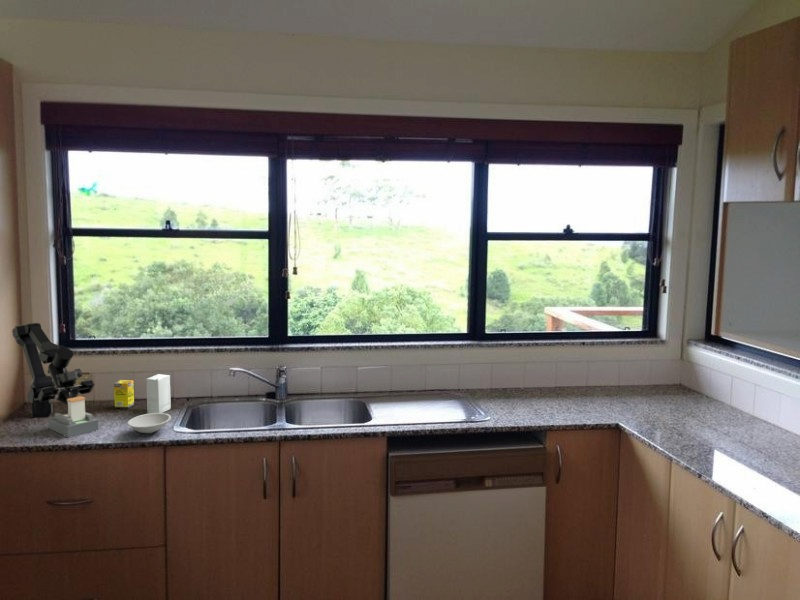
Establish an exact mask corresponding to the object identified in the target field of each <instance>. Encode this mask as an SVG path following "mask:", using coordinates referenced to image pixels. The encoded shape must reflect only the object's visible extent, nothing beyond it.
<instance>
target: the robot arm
mask: <svg viewBox="0 0 800 600" xmlns="http://www.w3.org/2000/svg"><path fill="white" fill-rule="evenodd" d="M11 332H12V333H13V334H12V336H13V338H14V340H15V343H16V344H18V345H19V346H20V347H22V350H23V352H24V353H23V354H24V357H25V360H26V363H27V366H28V369H29V372H30V376H31V383H30V385H29V391H28V393H27V396H26V397H27V401H28V402H29V403H31V412H32V413H31V416H30V418H45V417H48V418H49V417H50V416H51V415H52V414H53V413H54V405H53V402H52V400H55V398H56V401H59V402H61V403H63V404H65V405H67V406H68V401H67V399H69V398H74V397H78V395H79V394H80V395H86V394H90V393H91V392H92V390H93V388H95V381H94V380H93V379H87V380H82V381H80V383H79V384H78V385H75V384H76V383H77V381H76V380H79V378H82V377H83V372H82V370H81V368H75V369H74V370H72V371H68V370H67V367H68V366H69V365H70V363H71V361H72V359H73V356H74V351H72V350H71V349H70V348H68V347H65V345H58V344H56V343H53V342H51V339H50V338H49V337H48V335H46V333H45V332H44V330H43V329H42V325H41V323H39V322H31V323H26V324H19V325H15V326H14V327H13V328H12V331H11ZM43 364H44V365H45V364H49V365H48V367H47V369H48V370H47V373H48V374H50V375H47V374H46V373H45V369H44V367H43Z"/></svg>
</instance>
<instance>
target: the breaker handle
mask: <svg viewBox="0 0 800 600" xmlns="http://www.w3.org/2000/svg"><path fill="white" fill-rule="evenodd" d="M67 401H68V405H67V414H68V417H69V418H71V419H73V422H75V421H80V420H84V419H85V412H86V403H85V401H86V397H84V396H82V395H80V396H77V397H74V398H69V399H67Z"/></svg>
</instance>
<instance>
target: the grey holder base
mask: <svg viewBox="0 0 800 600" xmlns="http://www.w3.org/2000/svg"><path fill="white" fill-rule="evenodd" d="M48 428H50V429H49V430H51V429H52V430H51V431H53V430H54V431H53V432H55V431H56V432H55V433H57V432H58V434H59V433H60V435H61V434H63V435H62V436H64V435H65V436H64V437H66V436H67V437H66V438H68V437H69V438H72V437H71V436H73V437H76V436H75V435H77V436H80V435H79V434H82V435H84V434H83V433H86V434H89V433H88V432H90V433H93V432H92V431H94V432H97V431H96V430H98V431H99V420H98V419H97V418H94V417H93V414H91V413H90V412H88V411H87V412H86V411H85V419H84V420H80V421H75V422H73V419H71V418H69V417H68V413H66V414H62V413H60V412H55V413H54V417H48Z"/></svg>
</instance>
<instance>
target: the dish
mask: <svg viewBox="0 0 800 600" xmlns="http://www.w3.org/2000/svg"><path fill="white" fill-rule="evenodd" d="M171 419H172V417H171V415H170V414H168V413H165V412H163V413H145V414H140V415H137V416H134V417H132V418H130V419H129V420H128V421H127V426H129V427H130V428H131V429H133V430H134V431H135V432H138V433H143V434H152V433H154V432H157V431H159V430H161V429H163V428H164V427H165V426H166V425H167V424H168V422H169V421H170V420H171Z"/></svg>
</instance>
